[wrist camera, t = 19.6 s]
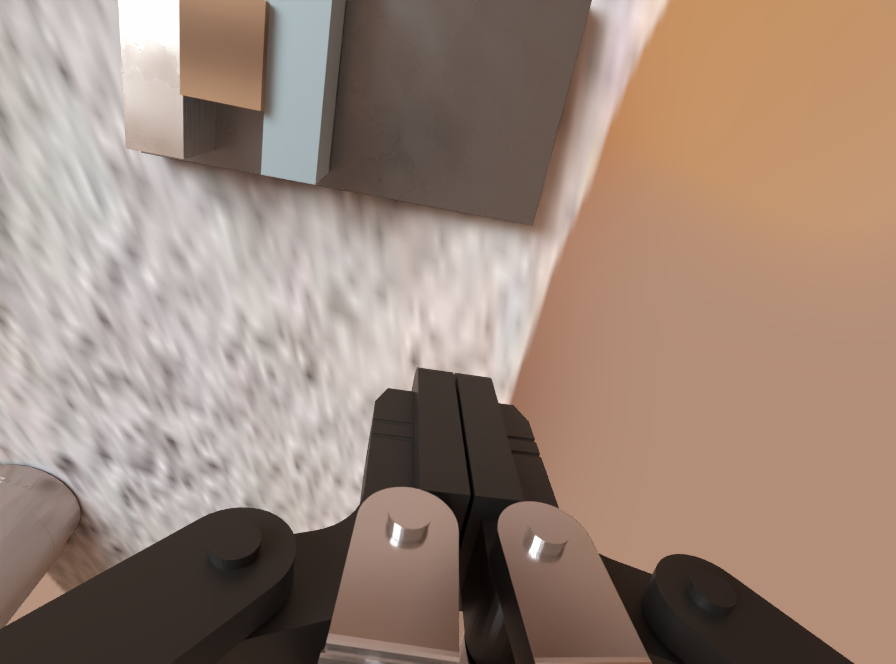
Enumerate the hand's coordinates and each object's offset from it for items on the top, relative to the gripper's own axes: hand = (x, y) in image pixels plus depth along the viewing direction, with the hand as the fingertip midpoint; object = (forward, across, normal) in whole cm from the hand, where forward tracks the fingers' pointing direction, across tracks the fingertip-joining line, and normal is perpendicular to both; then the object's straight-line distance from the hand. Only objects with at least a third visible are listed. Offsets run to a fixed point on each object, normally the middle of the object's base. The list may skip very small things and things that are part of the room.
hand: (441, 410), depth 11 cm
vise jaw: (+27, +8, -6) cm, 28 cm away
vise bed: (+29, +5, -6) cm, 30 cm away
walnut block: (+27, +11, -6) cm, 30 cm away
